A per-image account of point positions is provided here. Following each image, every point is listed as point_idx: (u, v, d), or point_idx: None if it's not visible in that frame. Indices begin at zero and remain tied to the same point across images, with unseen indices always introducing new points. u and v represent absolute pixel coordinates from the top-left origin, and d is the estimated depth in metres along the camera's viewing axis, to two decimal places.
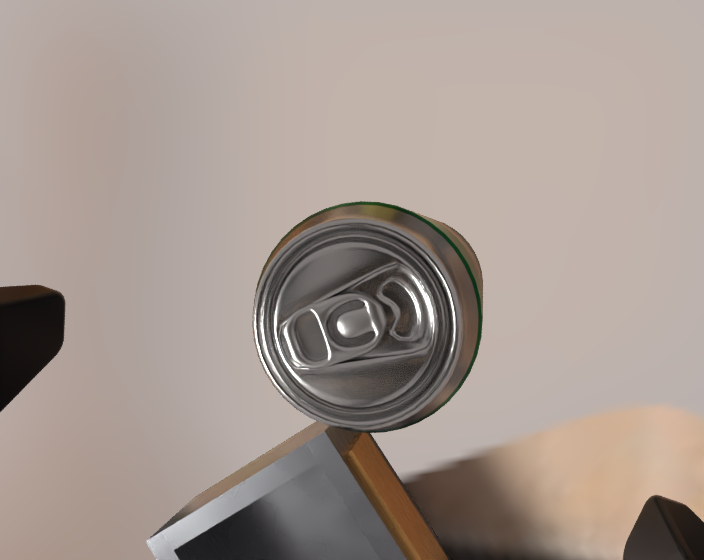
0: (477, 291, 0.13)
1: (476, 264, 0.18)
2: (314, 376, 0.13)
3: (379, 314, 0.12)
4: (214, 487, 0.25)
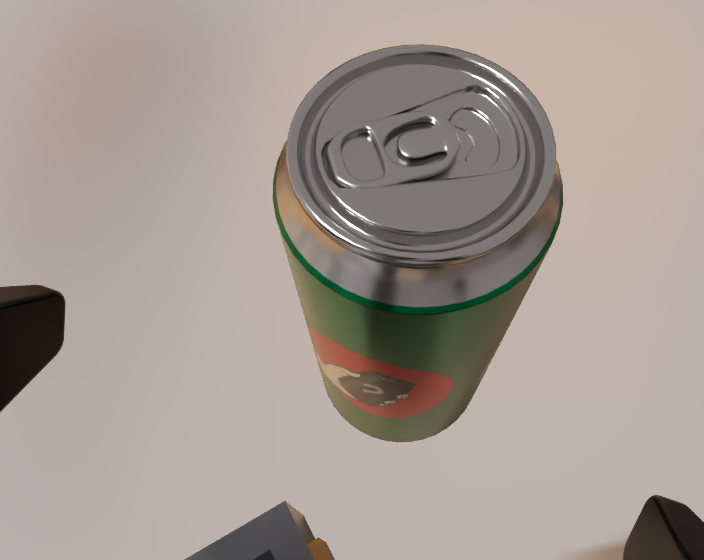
0: None
1: None
2: (365, 196, 0.09)
3: (451, 138, 0.10)
4: None
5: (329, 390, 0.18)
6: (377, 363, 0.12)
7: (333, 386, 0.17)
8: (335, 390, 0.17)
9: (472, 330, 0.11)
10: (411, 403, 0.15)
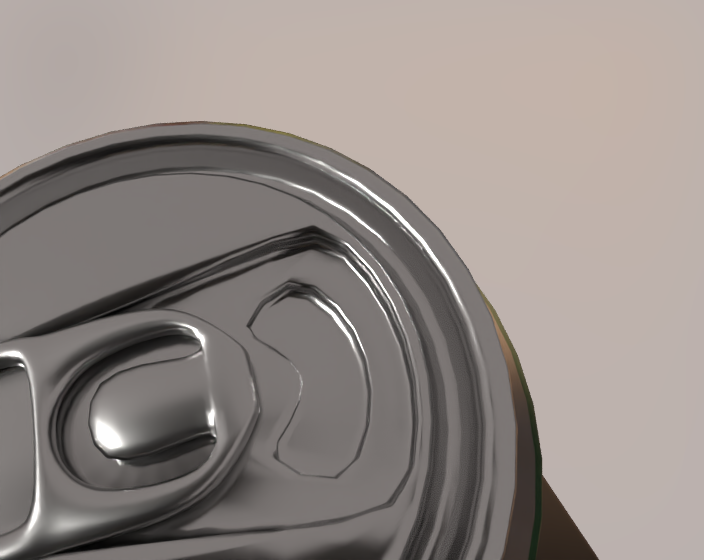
0: (524, 381, 0.05)
1: None
2: None
3: (242, 384, 0.04)
4: None
5: None
6: None
7: None
8: None
9: None
10: None
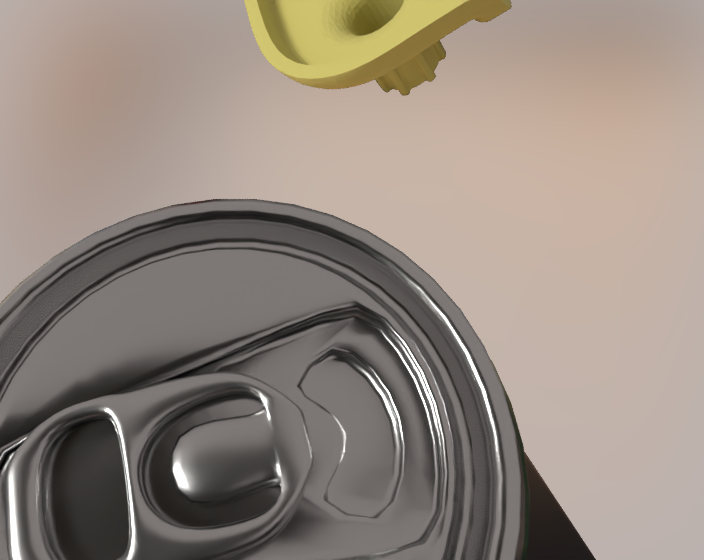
0: (516, 425, 0.06)
1: None
2: None
3: (299, 439, 0.05)
4: None
5: None
6: None
7: None
8: None
9: None
10: None
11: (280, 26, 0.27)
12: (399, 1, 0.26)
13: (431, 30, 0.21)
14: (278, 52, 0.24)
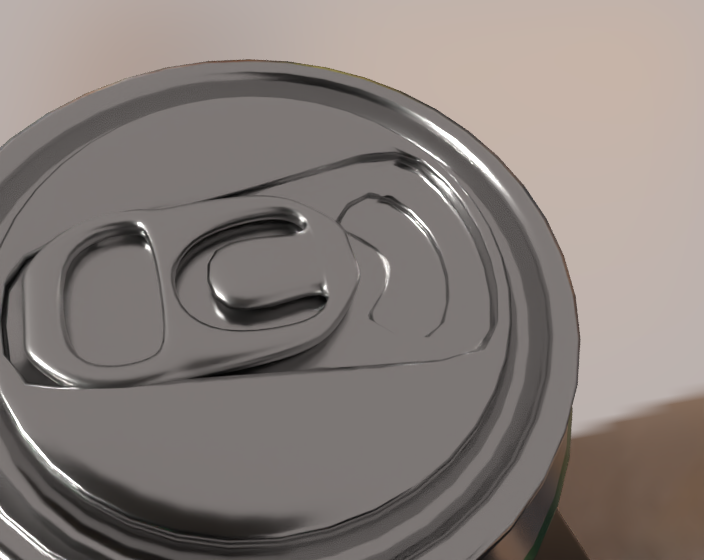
0: None
1: None
2: (92, 416, 0.03)
3: (341, 261, 0.04)
4: None
5: None
6: None
7: None
8: None
9: None
10: None
11: None
12: None
13: None
14: None
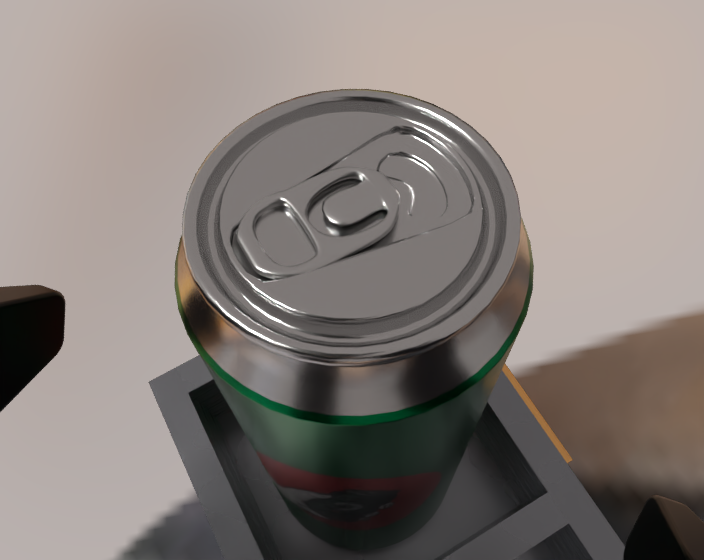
0: None
1: None
2: (299, 285, 0.07)
3: (387, 191, 0.08)
4: None
5: (292, 510, 0.15)
6: (352, 482, 0.10)
7: (297, 508, 0.14)
8: (300, 511, 0.14)
9: (462, 416, 0.09)
10: (396, 509, 0.12)
11: None
12: None
13: None
14: None
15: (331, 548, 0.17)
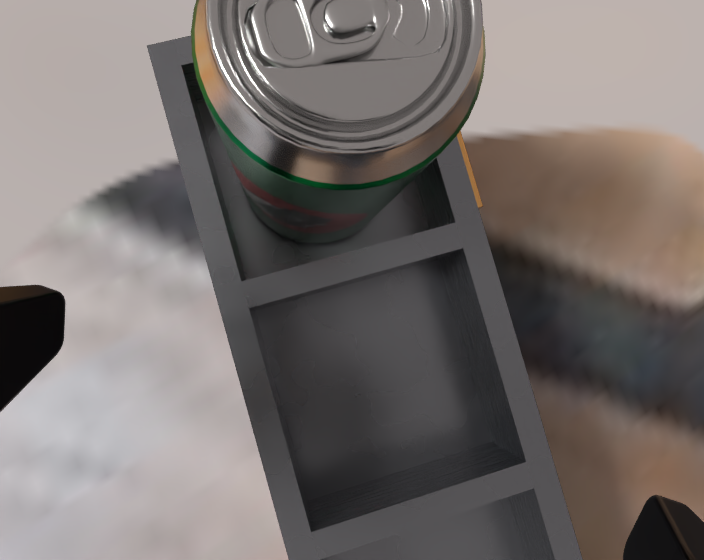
0: None
1: None
2: (291, 77, 0.09)
3: (381, 8, 0.10)
4: None
5: (249, 200, 0.19)
6: (298, 208, 0.13)
7: (254, 203, 0.17)
8: (256, 205, 0.18)
9: (388, 191, 0.12)
10: (328, 227, 0.16)
11: None
12: None
13: None
14: None
15: (273, 231, 0.21)
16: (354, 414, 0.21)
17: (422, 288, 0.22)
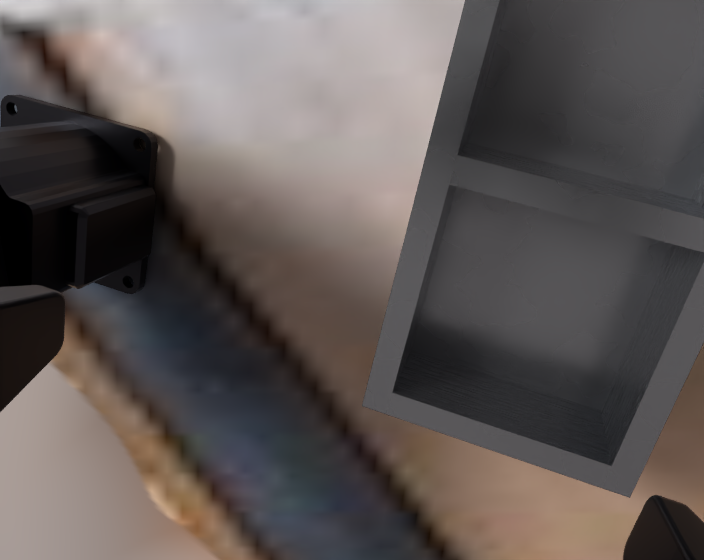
0: None
1: None
2: None
3: None
4: None
5: None
6: None
7: None
8: None
9: None
10: None
11: None
12: None
13: None
14: None
15: None
16: (567, 84, 0.18)
17: None
